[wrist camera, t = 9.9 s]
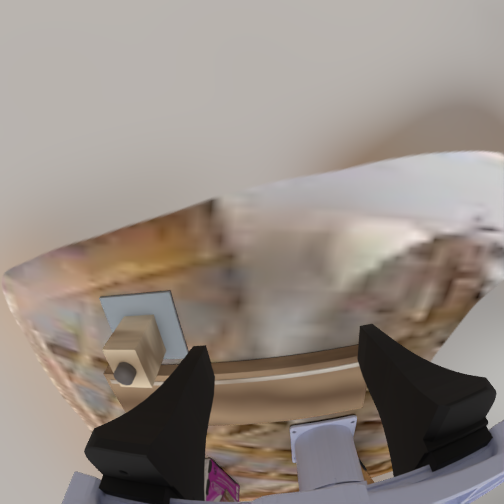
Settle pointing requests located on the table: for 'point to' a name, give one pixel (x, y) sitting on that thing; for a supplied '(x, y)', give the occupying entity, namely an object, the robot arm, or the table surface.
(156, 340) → the block
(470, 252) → the table surface
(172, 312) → the slate mat
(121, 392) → the walnut board
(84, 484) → the robot arm
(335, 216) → the table surface
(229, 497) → the candy bar box
